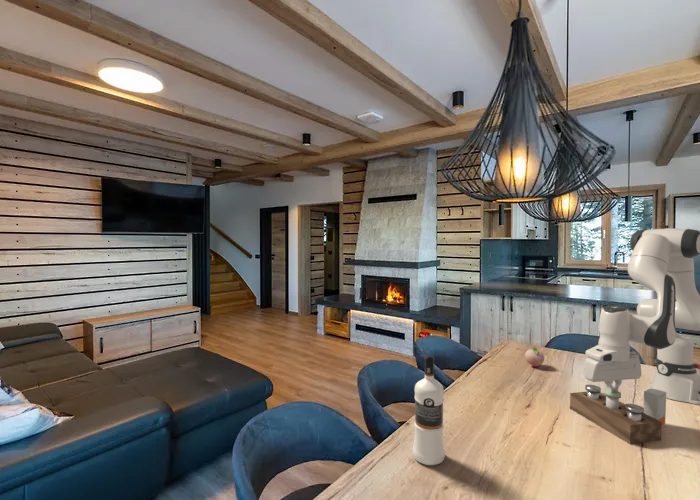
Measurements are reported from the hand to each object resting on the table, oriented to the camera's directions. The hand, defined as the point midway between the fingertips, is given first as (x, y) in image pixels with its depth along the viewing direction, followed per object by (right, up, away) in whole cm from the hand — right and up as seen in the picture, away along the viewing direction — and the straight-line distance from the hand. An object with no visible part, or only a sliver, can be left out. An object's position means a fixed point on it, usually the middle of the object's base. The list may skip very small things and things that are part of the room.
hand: (612, 391), depth 126 cm
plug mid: (0, -9, 0) cm, 9 cm away
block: (0, -11, 0) cm, 11 cm away
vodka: (-68, -12, -20) cm, 72 cm away
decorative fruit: (+1, -10, +55) cm, 56 cm away
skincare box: (+14, -11, -1) cm, 18 cm away
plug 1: (-1, -11, +8) cm, 13 cm away
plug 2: (+2, -11, -8) cm, 13 cm away
